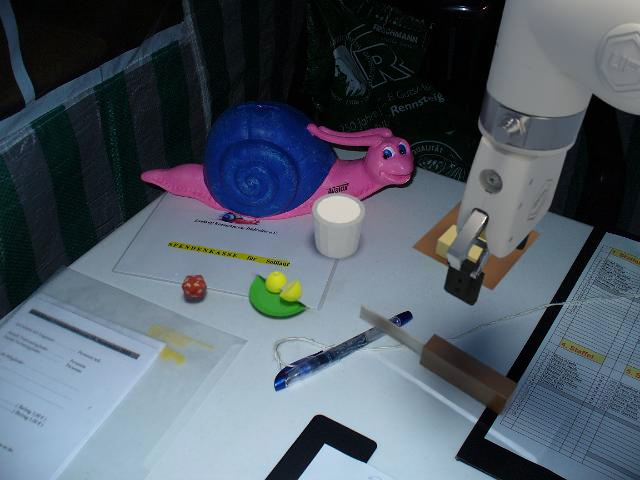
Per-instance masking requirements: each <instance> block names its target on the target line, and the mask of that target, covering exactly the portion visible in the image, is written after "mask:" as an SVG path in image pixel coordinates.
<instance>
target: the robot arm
mask: <svg viewBox="0 0 640 480" xmlns="http://www.w3.org/2000/svg"><path fill="white" fill-rule="evenodd" d="M501 17H502V18H501V21H500V24H499V28H498V34H497V38H496V41H495V46H494V52H493V54H492V55H493V56H492V60H491V64H490V69H489V74H488V78H487V82H486V87H485V89H484V90H485V91H484V95H483V99H482V104H481V107H480V112H479V116H478V121H477V125H478V129H479V132H480V133H481V135H482V136H481V139H480V141H479V145H478V147H477V150H476V153H475V156H474V158H473V161H472V164H471V167H470V171H469V174H468V176H467V180H466V183H465V187H464V190H463V194H462V197H461V200H462V201H461V200H460V201H461V205H460V209H459V214H458V219H457V226H456V231H457V236H456V238H455V239H454V241H453V242H452V244H451V245H450V247H449V248H448V250H447V264H448V265H449V267H447V272H446V277H445V280H444V285H443V290H444V291H445V292H446V293H448V294H449V295H451V296H452V297H454V298H456V299H458V300H459V301H461V302H463V303H465V304H467V305H469V306H470V307H472V306H475V304H477V302H478V299H479V296H480V293H481V289H482V287H483V285H482V283H483V279H484V276H485V273H483V272H482V270H483V268H484V266H485V264H486V262H487V260H488V258H489V257H490V255H491V254H493V255H495V256H496V257H498V258H502V257H505V256H507V255H509V254H510V253H511V252H512V251H513V250H514V249H515V248H516V249H518V250H522V249H523V248H524V247H525V246H526V243H527V240H528V237H529V235H530V232H531V230H534V228H535V227H536V226H537V225H538V223H540V222H541V220H542V219H543V218H544V217H545V216H546V214H547V213H548V211H549V210H550V208H551V205H552V202H553V199H554V196H555V192H556V189H557V186H558V183H559V180H560V176H561V173H562V169H563V166H564V163H565V160H566V156H567V152H568V151H569V150H570V149H572V147H573V146H574V145H575V143H576V140H577V138H578V134H579V131H580V129H581V127H582V124H583V121H584V118H585V115H586V112H587V110H588V107H589V104H590V101H591V98H592V96H593V95H594V96H596V97H598V98H599V99H600V100H602V101H603V102H605V103H606V104H608V105H610V106H611V107H613V108H615V109H617V110H620V111H622V112H625V113H628V114H632V115H636V116H640V0H505V4H504V8H503V11H502V15H501ZM482 231H483V232H485V236H486V241H487V242H485V241H483V240H481V239H479V238H478V237H479V236H480V234H481V233H482ZM473 245H476V246H478V247H480V248H482V249H483V250H482V252H481V254H480V256H479V257H478V259H477V261H476V263H474V262H472V261H471V260H469V259H468V257H469V256H468V254H469V251H470V249H471V248H472V246H473Z"/></svg>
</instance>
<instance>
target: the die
mask: <svg viewBox="0 0 640 480" xmlns="http://www.w3.org/2000/svg"><path fill="white" fill-rule="evenodd" d="M180 288H181V289H182V291H183V294H184V296H185V297H186V299H187V300H192V299H202V298H203V297H204V295H205V293H206V291H207V289H208V285H207V283H206V281H205V279H204V277H203V275H202V274H193V275H186V276H185V278H184V280H183V282H182V284H181V286H180Z"/></svg>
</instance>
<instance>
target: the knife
mask: <svg viewBox="0 0 640 480" xmlns="http://www.w3.org/2000/svg"><path fill="white" fill-rule="evenodd" d="M359 318H361V319H363V320H364V321H366V322H367V323H369V324H370V325H372V326H373V327H375V328H377V330H380V331H381V332H383V333H384V334H386V335H387V336H389V337H391V339H394V340H396V341H397V342H399V343H400V344H402V345H403V346H405V347H407V348H408V349H410V350H411V351H413V352H414V353H416V354H418V355H419V356H420V358H419V363H418V364H419V365H420V366H422V367H424V368H425V369H426V370H428V371H430V372H431V373H433V374H434V375H436V376H438V377H439V378H441V379H442V380H444V381H446V382H447V383H449V384H450V385H452V386H453V387H455V388H456V389H458V390H459V391H461V392H463V393H464V394H466V395H467V396H469V397H471V398H472V399H473V400H474V401H477V402H478V403H480V404H481V405H483V406H485V407H486V408H487V409H489V410H491V411H492V412H493V413H495V414H497V415H498V416H500V417H501V416H503V414H504V413H505V411H506V409H507V408H508V407H509V405H510V403H511V402H512V400H513V398H514V395H515V393H516V392H517V388H518V386H519V383H517V382H516V381H514V380H513V379H510V378H509V377H507V376H506V375H504V374H502V373H501V372H499V371H497V370H495V369H494V368H492V367H490V366H489V365H488V364H486V363H484V362H483V361H481V360H479V359H477V358H476V357H474V356H473V355H471V354H470V353H468V352H466V351H464V350H463V349H461V348H459V347H458V346H457V345H454V344H453V343H451V342H449V341H448V340H447V339H445V338H442V337H441V336H440V335H438V334H437V333H434V334H433V335H432V336H431V337H430V338H429V339H428V340H427V341H426V342H424V341H422V340H421V339H419V338H418V337H417V336H415V335H413V334H411V333H410V332H409V331H407V330H405V329H404V328H402V327H400V326H399V325H397V324H396V323H394V322H392V321H390V320H389V319H387V317H384V316H382V315H381V314H379V313H377V312H376V311H375V310H373V309H371V308H369V307H368V306H367V305H365V304H364V303H362V304H361V305H360V312H359Z"/></svg>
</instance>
